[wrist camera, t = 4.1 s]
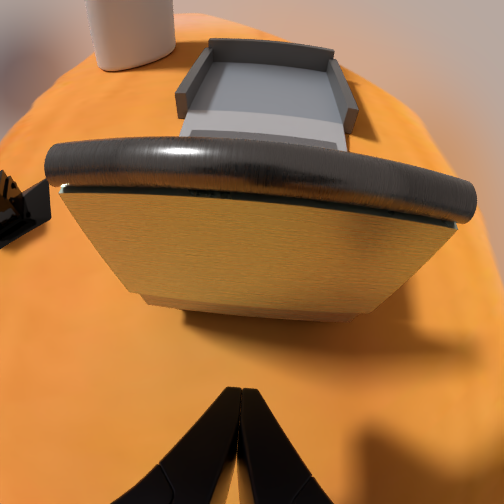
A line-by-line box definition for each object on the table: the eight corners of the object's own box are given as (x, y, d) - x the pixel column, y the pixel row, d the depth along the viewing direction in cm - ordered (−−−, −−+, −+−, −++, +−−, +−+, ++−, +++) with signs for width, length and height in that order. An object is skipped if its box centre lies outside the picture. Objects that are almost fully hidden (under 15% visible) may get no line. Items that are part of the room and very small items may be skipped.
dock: (357, 179, 22) (376, 132, 18) (163, 162, 22) (153, 112, 18) (330, 82, 32) (337, 50, 27) (207, 71, 32) (205, 38, 27)
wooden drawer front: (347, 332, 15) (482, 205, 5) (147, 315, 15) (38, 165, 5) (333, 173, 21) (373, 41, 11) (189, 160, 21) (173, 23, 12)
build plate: (64, 169, 22) (46, 131, 18) (70, 225, 18) (43, 183, 14) (-27, 226, 18) (-51, 197, 14) (-33, 286, 15) (-65, 259, 11)
